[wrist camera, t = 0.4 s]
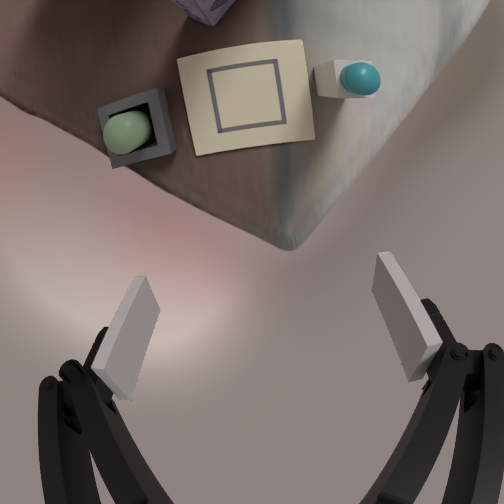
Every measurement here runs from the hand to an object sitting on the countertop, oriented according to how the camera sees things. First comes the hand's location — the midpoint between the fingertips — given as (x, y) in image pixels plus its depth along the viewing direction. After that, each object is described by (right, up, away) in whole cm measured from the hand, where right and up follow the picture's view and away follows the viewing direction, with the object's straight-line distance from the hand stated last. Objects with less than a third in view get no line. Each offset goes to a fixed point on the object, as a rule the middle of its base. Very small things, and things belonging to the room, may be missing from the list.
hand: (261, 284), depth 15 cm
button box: (-16, +19, +18) cm, 31 cm away
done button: (-16, +18, +17) cm, 29 cm away
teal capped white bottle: (+10, +24, +15) cm, 30 cm away
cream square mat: (-1, +22, +16) cm, 27 cm away
